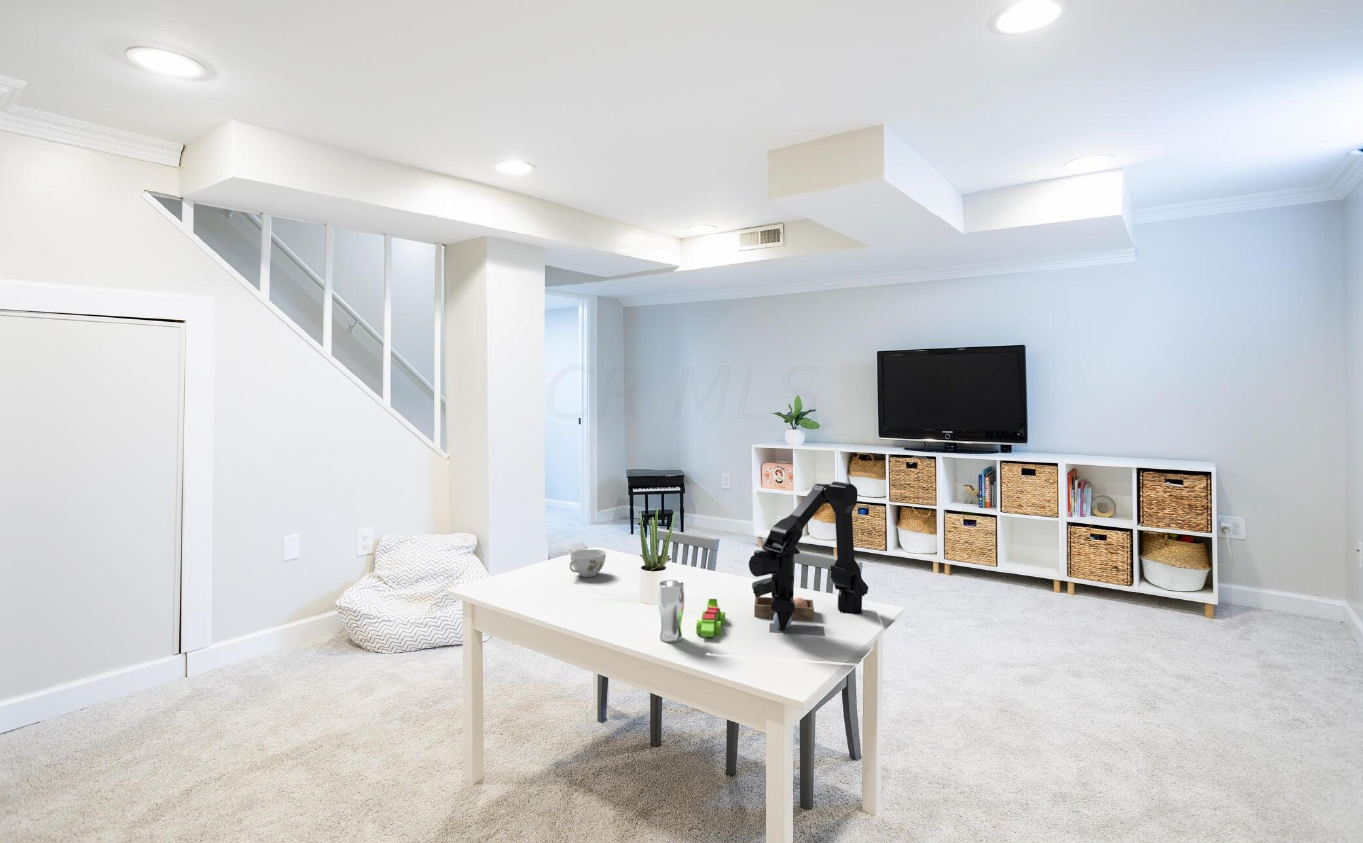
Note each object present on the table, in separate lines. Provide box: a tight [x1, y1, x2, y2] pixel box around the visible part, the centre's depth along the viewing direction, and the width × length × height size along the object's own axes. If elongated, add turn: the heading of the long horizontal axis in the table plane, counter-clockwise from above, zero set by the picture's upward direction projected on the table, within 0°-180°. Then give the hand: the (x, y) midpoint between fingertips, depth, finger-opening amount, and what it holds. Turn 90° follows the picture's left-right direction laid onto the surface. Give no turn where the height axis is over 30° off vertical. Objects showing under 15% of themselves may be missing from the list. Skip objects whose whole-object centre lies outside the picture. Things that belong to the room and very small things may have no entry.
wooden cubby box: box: [791, 598, 815, 621], centre depth 197 cm, size 8×8×4 cm
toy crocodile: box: [695, 598, 726, 638], centre depth 187 cm, size 20×7×6 cm, turn 168°
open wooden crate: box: [753, 596, 776, 619], centre depth 198 cm, size 8×8×4 cm
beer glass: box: [657, 579, 685, 644], centre depth 179 cm, size 7×7×15 cm
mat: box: [768, 622, 826, 637], centre depth 186 cm, size 15×7×1 cm, turn 82°
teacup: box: [569, 549, 607, 578], centre depth 236 cm, size 15×12×8 cm
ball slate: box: [772, 613, 792, 629], centre depth 186 cm, size 5×5×5 cm
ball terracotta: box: [793, 597, 808, 608], centre depth 197 cm, size 5×5×5 cm
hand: (782, 626), depth 186 cm, fingers open, 6 cm apart
